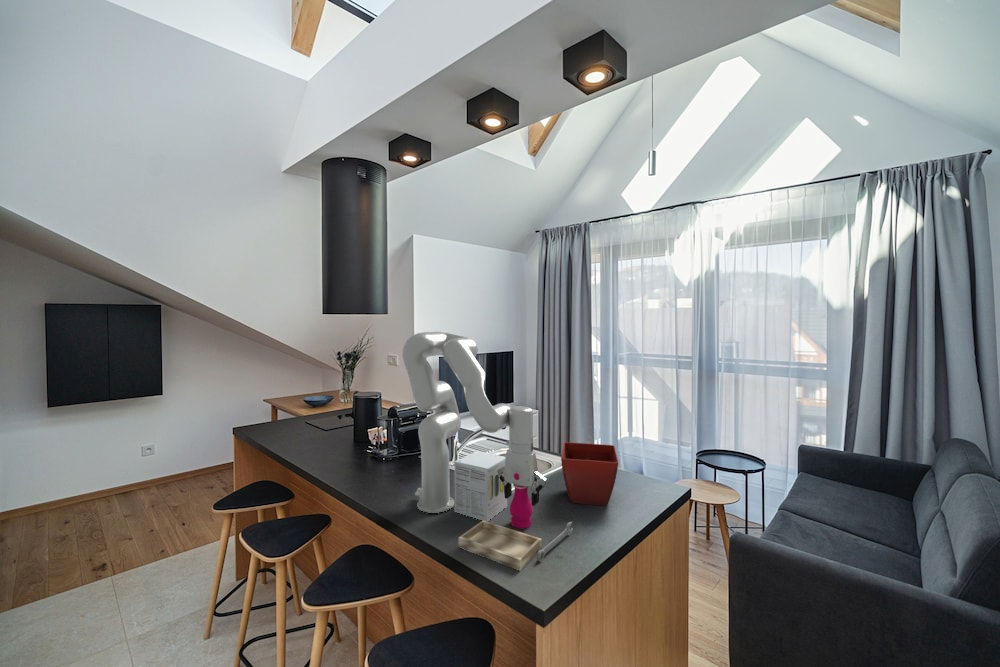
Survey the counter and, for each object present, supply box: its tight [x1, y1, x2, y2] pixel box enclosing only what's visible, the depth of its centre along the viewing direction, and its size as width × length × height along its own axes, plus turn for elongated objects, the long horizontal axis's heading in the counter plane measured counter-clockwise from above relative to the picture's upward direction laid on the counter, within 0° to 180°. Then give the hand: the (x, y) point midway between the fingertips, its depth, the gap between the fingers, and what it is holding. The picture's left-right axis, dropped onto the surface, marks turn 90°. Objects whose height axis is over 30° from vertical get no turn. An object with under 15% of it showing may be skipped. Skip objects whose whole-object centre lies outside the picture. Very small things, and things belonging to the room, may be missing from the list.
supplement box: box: [454, 450, 508, 522], centre depth 140 cm, size 13×13×18 cm
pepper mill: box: [509, 473, 534, 529], centre depth 130 cm, size 7×7×20 cm
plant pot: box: [560, 441, 619, 507], centre depth 149 cm, size 19×19×17 cm
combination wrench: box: [536, 521, 574, 563], centre depth 118 cm, size 4×1×20 cm
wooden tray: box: [458, 520, 543, 572], centre depth 116 cm, size 20×12×3 cm, turn 57°
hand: (521, 500), depth 130 cm, fingers open, 9 cm apart
